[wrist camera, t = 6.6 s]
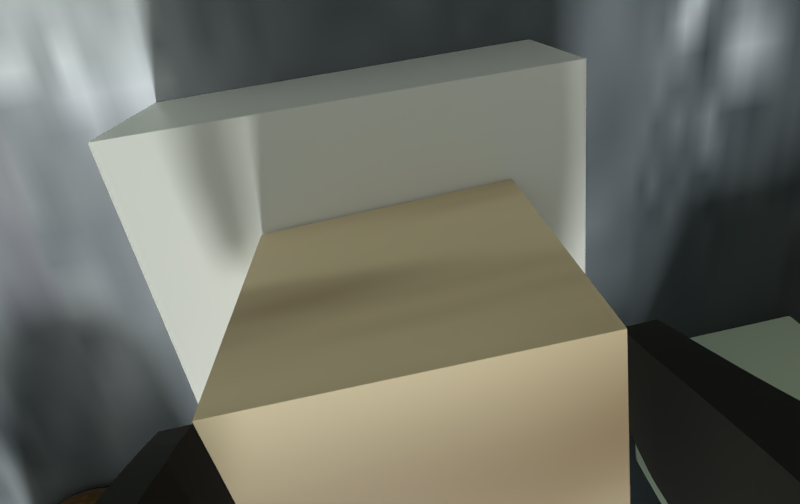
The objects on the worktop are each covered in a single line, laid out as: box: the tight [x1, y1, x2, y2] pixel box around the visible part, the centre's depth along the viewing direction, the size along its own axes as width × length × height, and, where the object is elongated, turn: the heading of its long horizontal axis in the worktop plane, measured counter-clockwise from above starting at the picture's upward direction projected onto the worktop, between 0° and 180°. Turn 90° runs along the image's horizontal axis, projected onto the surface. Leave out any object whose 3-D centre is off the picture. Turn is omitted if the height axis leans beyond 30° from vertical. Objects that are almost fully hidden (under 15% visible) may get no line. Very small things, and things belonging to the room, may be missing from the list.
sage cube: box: [635, 316, 800, 504], centre depth 16 cm, size 5×5×5 cm
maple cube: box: [192, 179, 630, 504], centre depth 9 cm, size 5×5×5 cm
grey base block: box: [88, 39, 586, 404], centre depth 13 cm, size 9×9×4 cm
